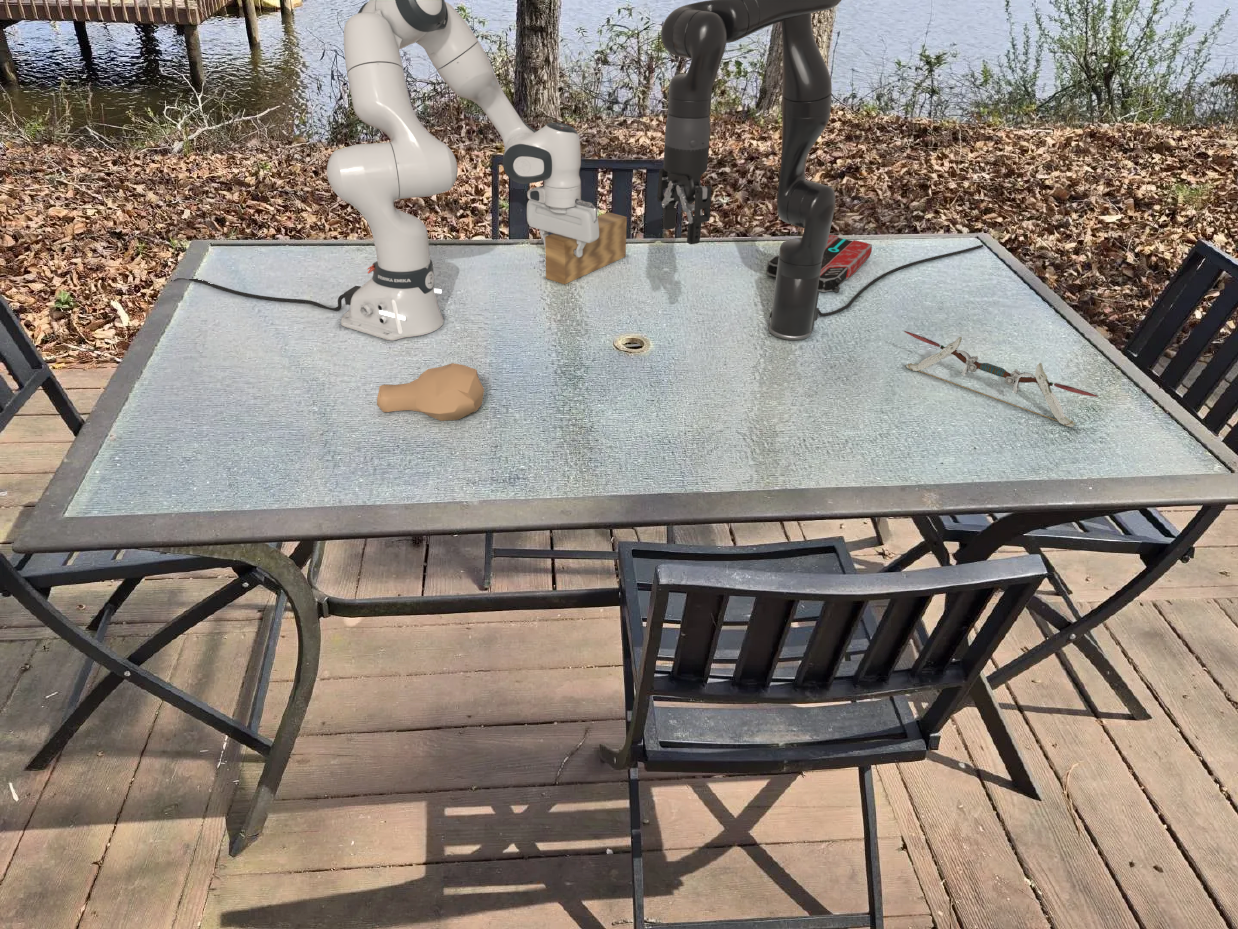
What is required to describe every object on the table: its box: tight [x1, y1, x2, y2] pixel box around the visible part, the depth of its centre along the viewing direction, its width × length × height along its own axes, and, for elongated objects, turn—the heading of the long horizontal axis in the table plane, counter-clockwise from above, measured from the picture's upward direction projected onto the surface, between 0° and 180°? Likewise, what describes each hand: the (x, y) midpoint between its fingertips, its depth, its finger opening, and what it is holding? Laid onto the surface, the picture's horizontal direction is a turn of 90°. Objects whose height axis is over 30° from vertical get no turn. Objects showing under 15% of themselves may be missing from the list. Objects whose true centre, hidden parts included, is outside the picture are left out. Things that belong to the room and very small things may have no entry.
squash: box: [376, 362, 485, 422], centre depth 161 cm, size 11×20×9 cm, turn 90°
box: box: [544, 211, 628, 285], centre depth 224 cm, size 25×6×11 cm, turn 143°
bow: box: [903, 330, 1099, 428], centre depth 171 cm, size 39×2×10 cm, turn 47°
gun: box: [765, 233, 873, 293], centre depth 228 cm, size 4×31×19 cm
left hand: (563, 251), depth 216 cm, fingers open, 8 cm apart
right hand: (680, 235), depth 157 cm, fingers open, 8 cm apart
